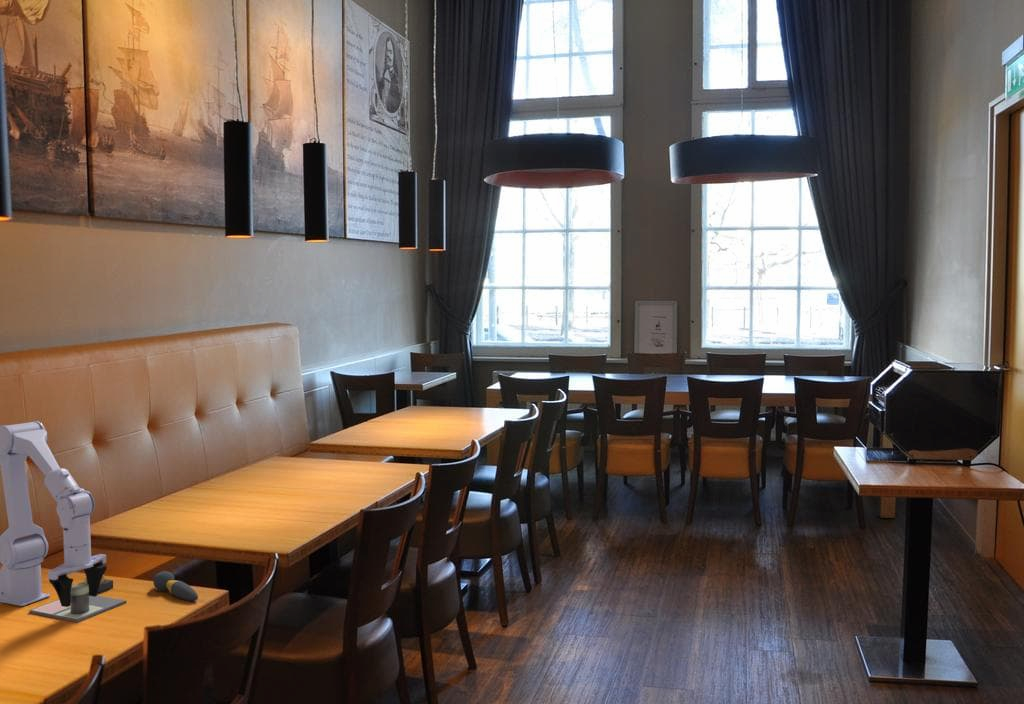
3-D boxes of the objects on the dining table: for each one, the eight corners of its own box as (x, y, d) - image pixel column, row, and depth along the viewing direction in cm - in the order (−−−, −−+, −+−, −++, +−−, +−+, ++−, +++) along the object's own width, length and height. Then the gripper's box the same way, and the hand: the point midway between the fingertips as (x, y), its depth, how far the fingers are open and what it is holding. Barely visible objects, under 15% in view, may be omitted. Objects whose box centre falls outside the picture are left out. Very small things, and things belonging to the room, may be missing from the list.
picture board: (29, 612, 212) (29, 609, 212) (79, 594, 225) (78, 591, 225) (77, 622, 206) (77, 619, 205) (126, 602, 218) (126, 599, 218)
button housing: (76, 592, 226) (76, 584, 226) (96, 585, 232) (95, 577, 232) (93, 595, 224) (93, 587, 224) (113, 587, 230) (112, 580, 229)
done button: (85, 585, 227) (84, 577, 227) (95, 581, 230) (95, 573, 230) (94, 586, 226) (93, 578, 226) (104, 582, 229) (104, 575, 229)
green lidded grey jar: (66, 613, 210) (65, 588, 209) (81, 607, 213) (80, 582, 213) (79, 615, 208) (78, 590, 208) (93, 609, 212) (92, 584, 211)
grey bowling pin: (210, 599, 221) (209, 579, 221) (192, 604, 217) (192, 584, 217) (161, 584, 233) (161, 566, 232) (144, 590, 228) (144, 571, 228)
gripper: (62, 554, 201) (65, 613, 202) (114, 538, 215) (116, 593, 216) (40, 551, 204) (43, 609, 205) (93, 535, 218) (95, 589, 218)
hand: (79, 600), depth 211 cm, fingers open, 7 cm apart
